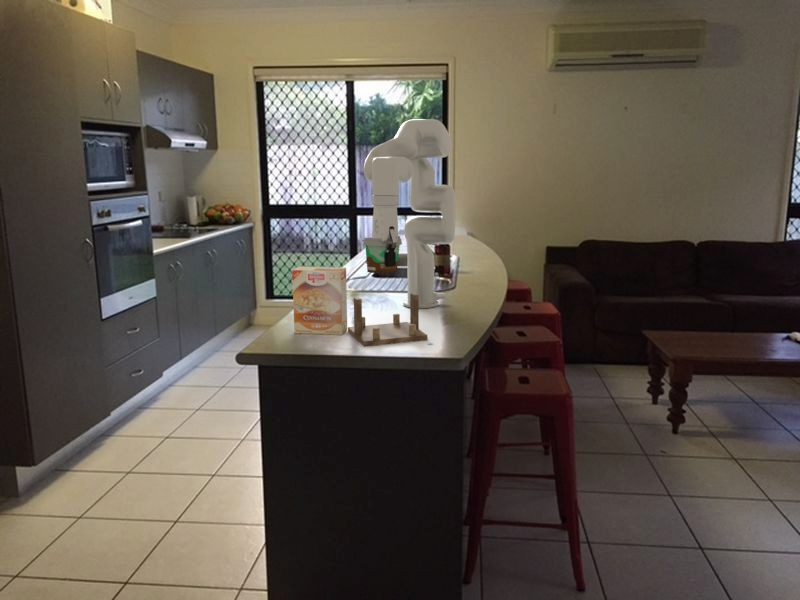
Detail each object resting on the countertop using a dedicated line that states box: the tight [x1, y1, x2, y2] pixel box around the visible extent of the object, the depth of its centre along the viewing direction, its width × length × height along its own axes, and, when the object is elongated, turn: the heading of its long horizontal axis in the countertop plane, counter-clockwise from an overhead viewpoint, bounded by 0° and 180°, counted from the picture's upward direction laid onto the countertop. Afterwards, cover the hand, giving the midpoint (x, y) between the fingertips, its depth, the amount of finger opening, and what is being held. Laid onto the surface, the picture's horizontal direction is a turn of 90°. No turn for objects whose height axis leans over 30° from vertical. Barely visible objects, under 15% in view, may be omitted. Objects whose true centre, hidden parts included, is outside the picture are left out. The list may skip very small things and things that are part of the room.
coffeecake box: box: [291, 266, 348, 336], centre depth 199 cm, size 15×7×20 cm, turn 81°
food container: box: [363, 235, 403, 274], centre depth 190 cm, size 12×6×10 cm, turn 128°
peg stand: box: [347, 293, 428, 347], centre depth 195 cm, size 19×17×12 cm
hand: (386, 263), depth 192 cm, fingers closed on food container, 5 cm apart
